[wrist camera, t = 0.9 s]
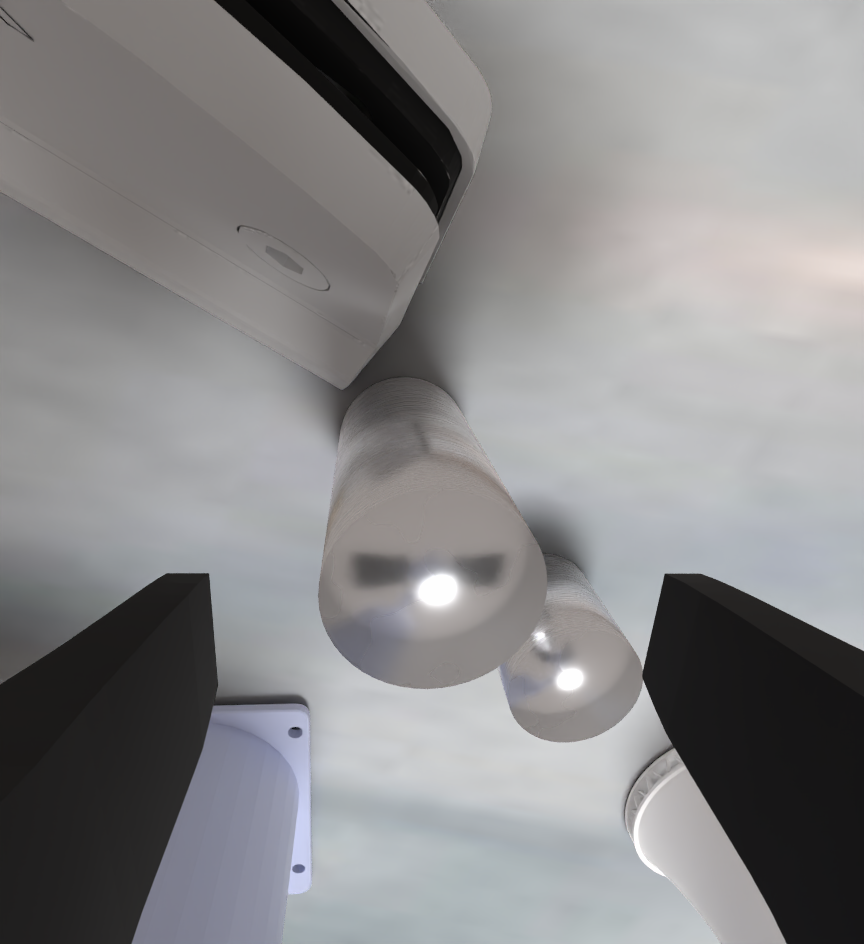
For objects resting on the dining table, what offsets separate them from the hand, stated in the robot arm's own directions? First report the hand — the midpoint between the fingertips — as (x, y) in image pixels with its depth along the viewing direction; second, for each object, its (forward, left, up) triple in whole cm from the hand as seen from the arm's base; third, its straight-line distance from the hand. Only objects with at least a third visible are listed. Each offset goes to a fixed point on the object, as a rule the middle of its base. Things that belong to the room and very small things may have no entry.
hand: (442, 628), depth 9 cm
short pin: (-6, -5, -10) cm, 13 cm away
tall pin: (0, 0, -10) cm, 10 cm away
